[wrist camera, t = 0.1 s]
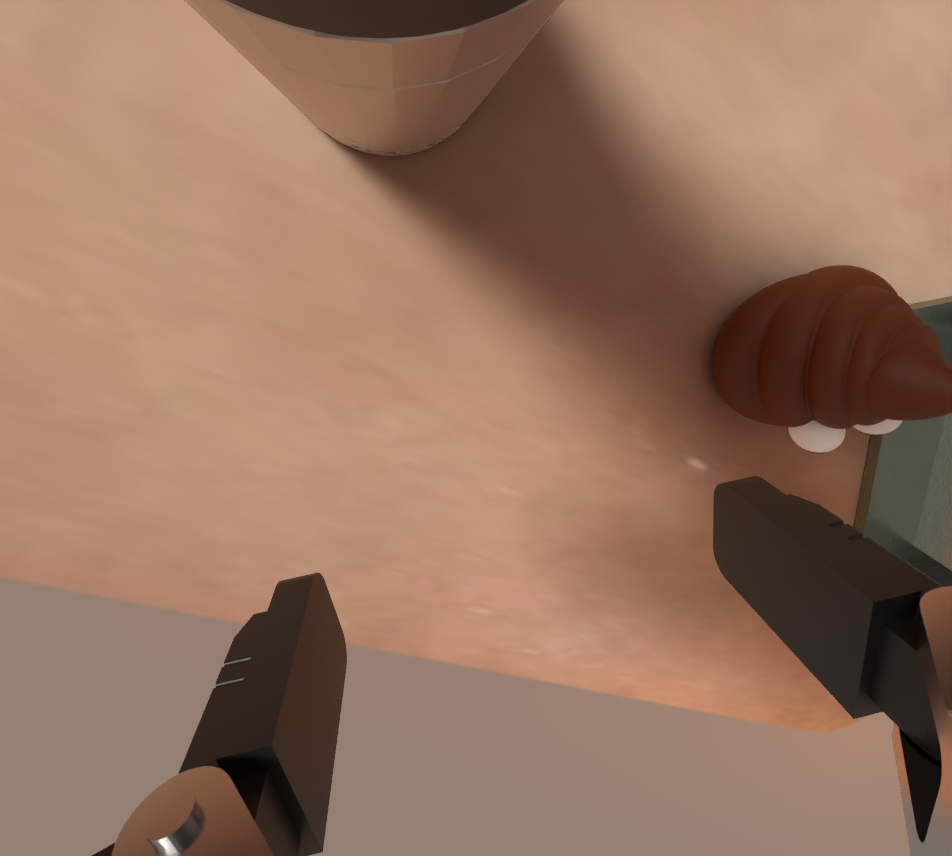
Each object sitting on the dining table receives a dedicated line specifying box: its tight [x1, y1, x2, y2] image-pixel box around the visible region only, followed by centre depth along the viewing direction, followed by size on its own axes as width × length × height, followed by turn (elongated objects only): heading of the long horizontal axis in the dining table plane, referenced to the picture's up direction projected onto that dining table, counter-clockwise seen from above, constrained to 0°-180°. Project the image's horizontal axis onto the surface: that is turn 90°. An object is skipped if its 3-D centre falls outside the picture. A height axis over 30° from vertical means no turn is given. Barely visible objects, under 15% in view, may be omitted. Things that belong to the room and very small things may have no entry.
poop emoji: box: [712, 265, 952, 453], centre depth 24 cm, size 10×8×9 cm
